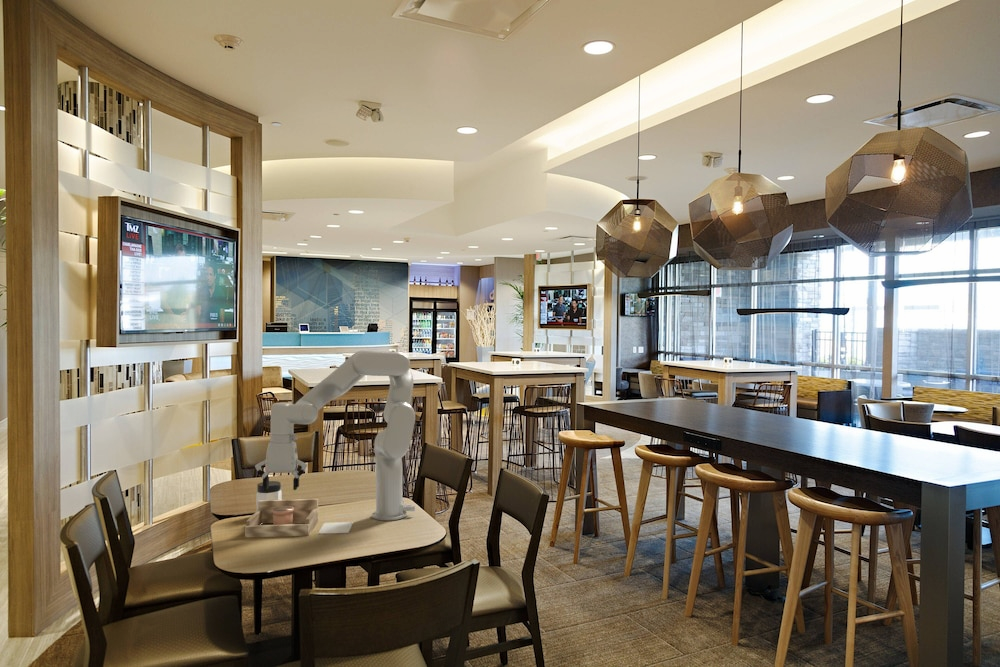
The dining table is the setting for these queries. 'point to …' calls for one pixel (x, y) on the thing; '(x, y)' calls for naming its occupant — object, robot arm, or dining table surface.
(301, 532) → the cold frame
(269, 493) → the jar
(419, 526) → the dining table surface
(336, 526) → the tile
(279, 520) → the pot
